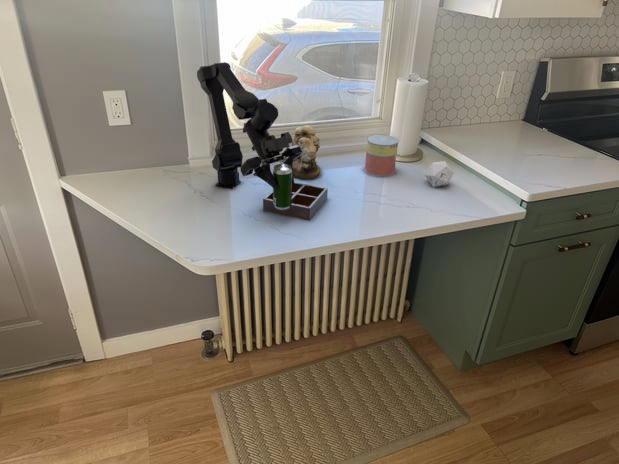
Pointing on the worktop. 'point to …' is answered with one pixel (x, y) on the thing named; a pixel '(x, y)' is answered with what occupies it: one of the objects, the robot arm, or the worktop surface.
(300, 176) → the beige bust sculpture
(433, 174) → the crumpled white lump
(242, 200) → the worktop surface
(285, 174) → the beer can
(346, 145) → the worktop surface
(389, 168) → the canned food
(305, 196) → the rack
